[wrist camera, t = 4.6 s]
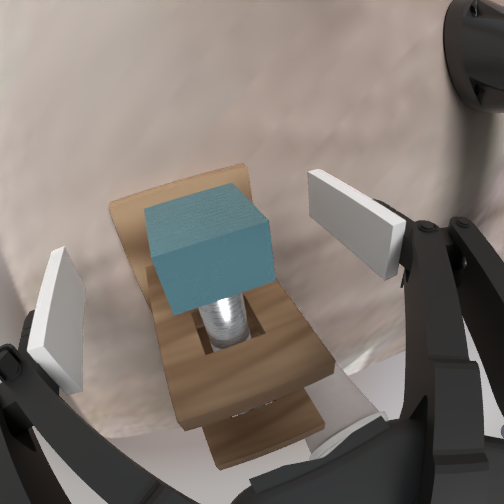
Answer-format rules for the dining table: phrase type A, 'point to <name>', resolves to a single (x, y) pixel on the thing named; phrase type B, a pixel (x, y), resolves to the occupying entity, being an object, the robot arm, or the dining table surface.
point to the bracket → (234, 357)
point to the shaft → (211, 258)
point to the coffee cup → (338, 411)
